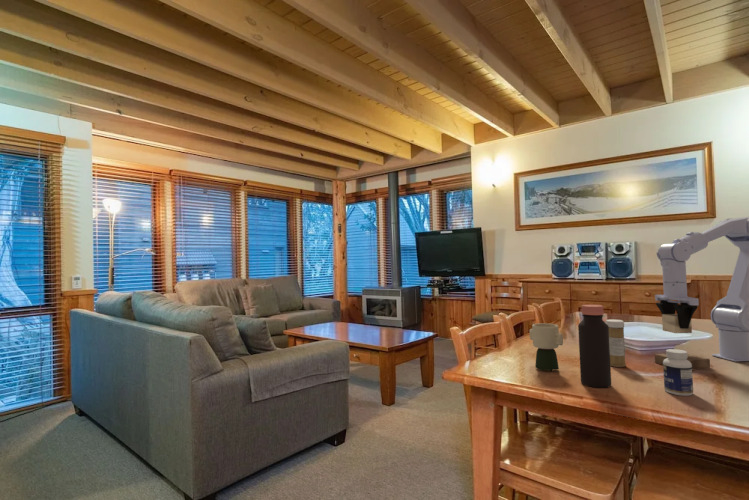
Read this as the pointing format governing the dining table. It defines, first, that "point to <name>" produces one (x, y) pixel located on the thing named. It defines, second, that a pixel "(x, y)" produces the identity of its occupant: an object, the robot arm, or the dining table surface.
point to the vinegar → (594, 348)
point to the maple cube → (673, 324)
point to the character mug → (546, 345)
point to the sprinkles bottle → (616, 342)
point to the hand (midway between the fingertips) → (676, 326)
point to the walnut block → (694, 360)
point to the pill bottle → (677, 373)
